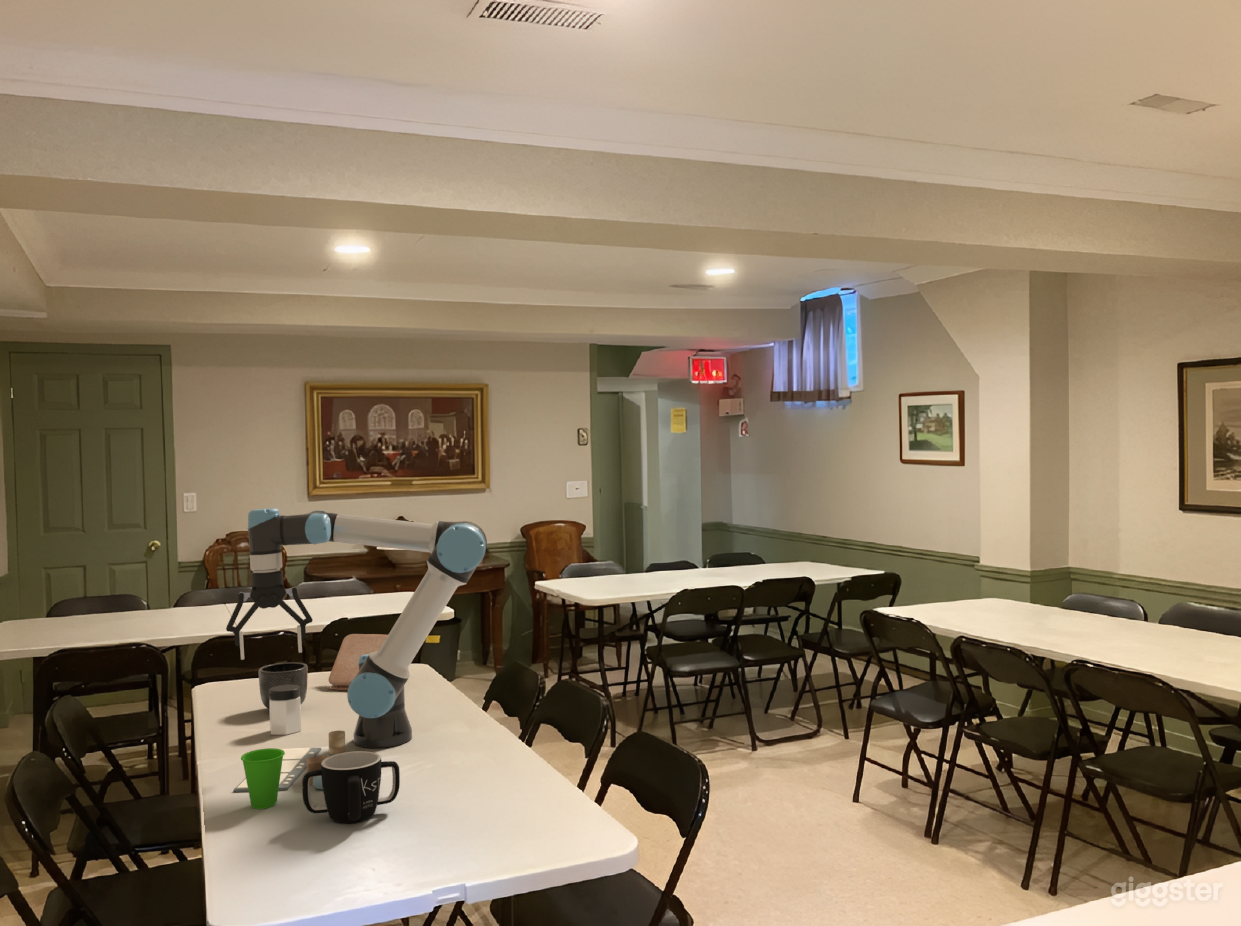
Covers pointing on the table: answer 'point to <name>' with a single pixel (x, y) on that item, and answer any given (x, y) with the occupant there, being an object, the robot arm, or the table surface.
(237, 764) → the table surface
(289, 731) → the jar
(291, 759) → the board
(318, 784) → the dusty blue ball
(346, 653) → the case
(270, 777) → the cup
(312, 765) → the walnut block
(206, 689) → the table surface
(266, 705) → the planter
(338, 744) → the beech cylinder
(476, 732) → the table surface
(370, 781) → the mug
